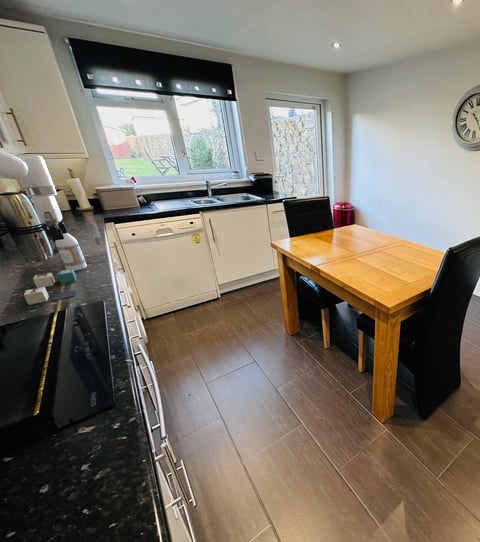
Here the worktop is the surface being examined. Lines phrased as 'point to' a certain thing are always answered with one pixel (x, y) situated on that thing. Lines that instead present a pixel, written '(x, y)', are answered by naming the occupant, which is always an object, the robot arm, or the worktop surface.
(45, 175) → the robot arm
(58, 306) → the worktop surface
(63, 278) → the tile
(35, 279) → the tile
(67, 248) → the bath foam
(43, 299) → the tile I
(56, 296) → the slot pad
